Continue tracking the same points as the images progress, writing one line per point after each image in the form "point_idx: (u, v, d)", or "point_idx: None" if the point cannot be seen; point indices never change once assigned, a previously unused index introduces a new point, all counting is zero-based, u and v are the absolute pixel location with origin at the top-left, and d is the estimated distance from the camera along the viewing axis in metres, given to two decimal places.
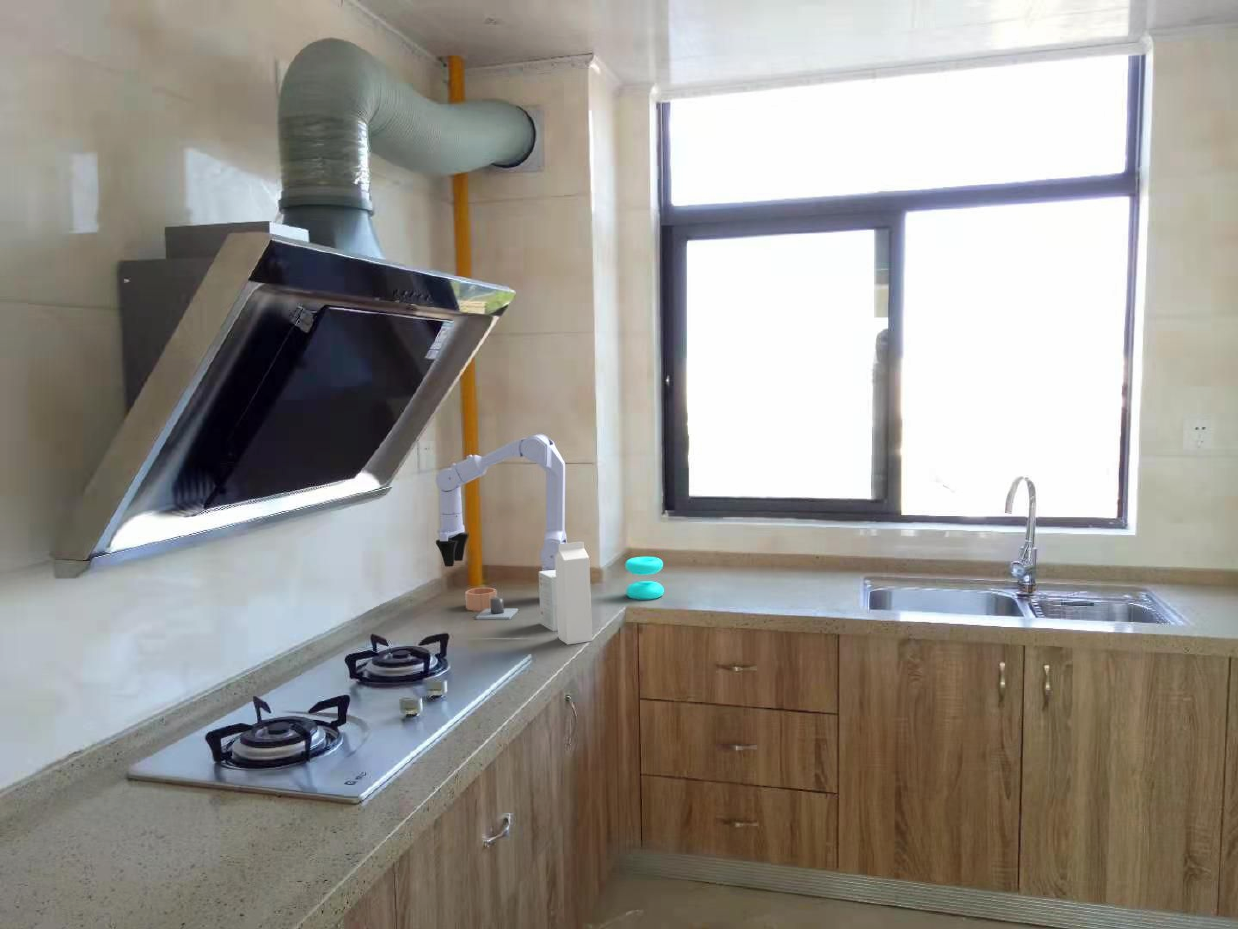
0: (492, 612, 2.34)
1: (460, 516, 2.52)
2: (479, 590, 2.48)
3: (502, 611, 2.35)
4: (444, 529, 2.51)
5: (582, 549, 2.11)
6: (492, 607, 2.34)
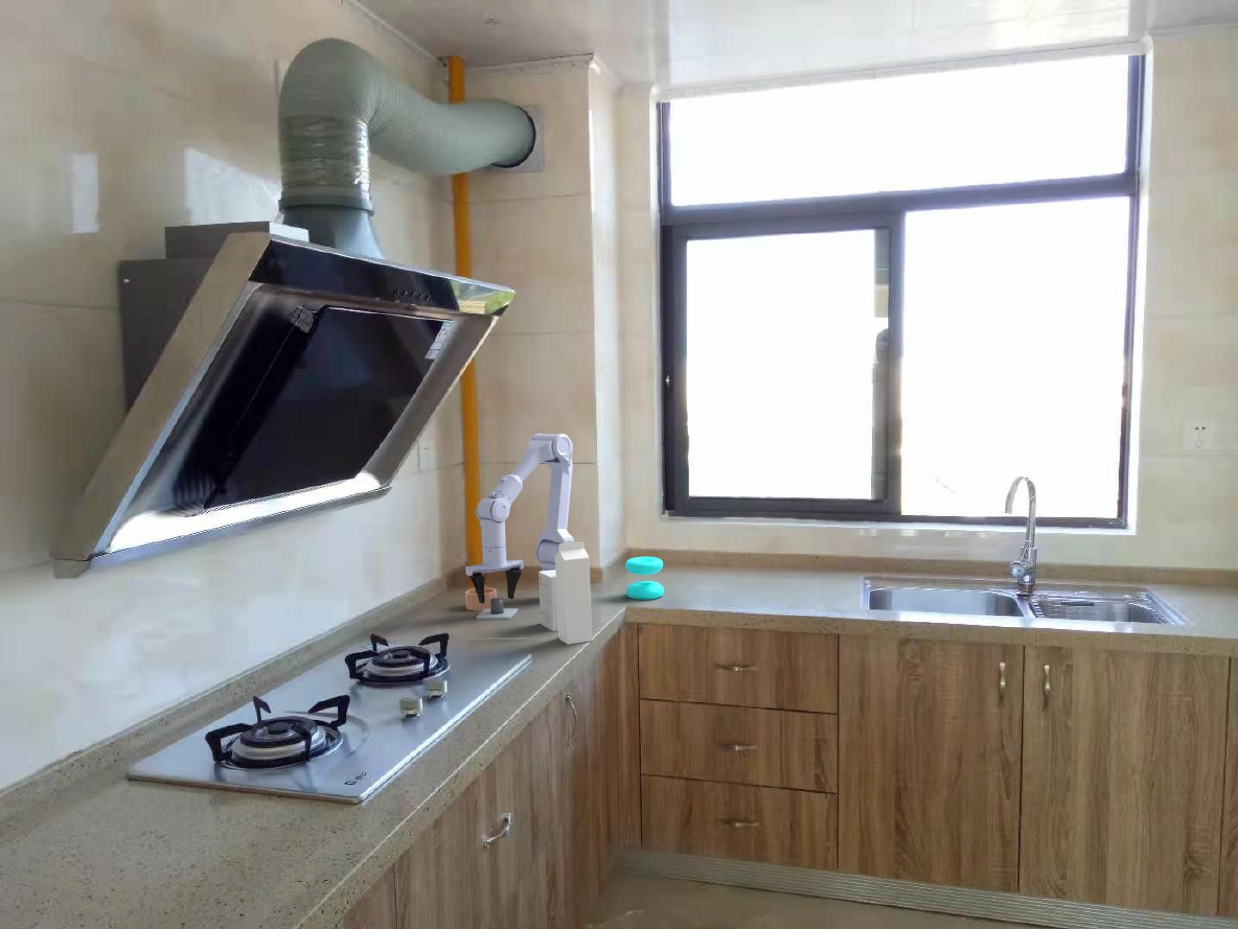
0: (492, 612, 2.34)
1: (495, 551, 2.31)
2: None
3: (502, 611, 2.35)
4: (483, 562, 2.34)
5: (582, 549, 2.11)
6: (492, 607, 2.34)
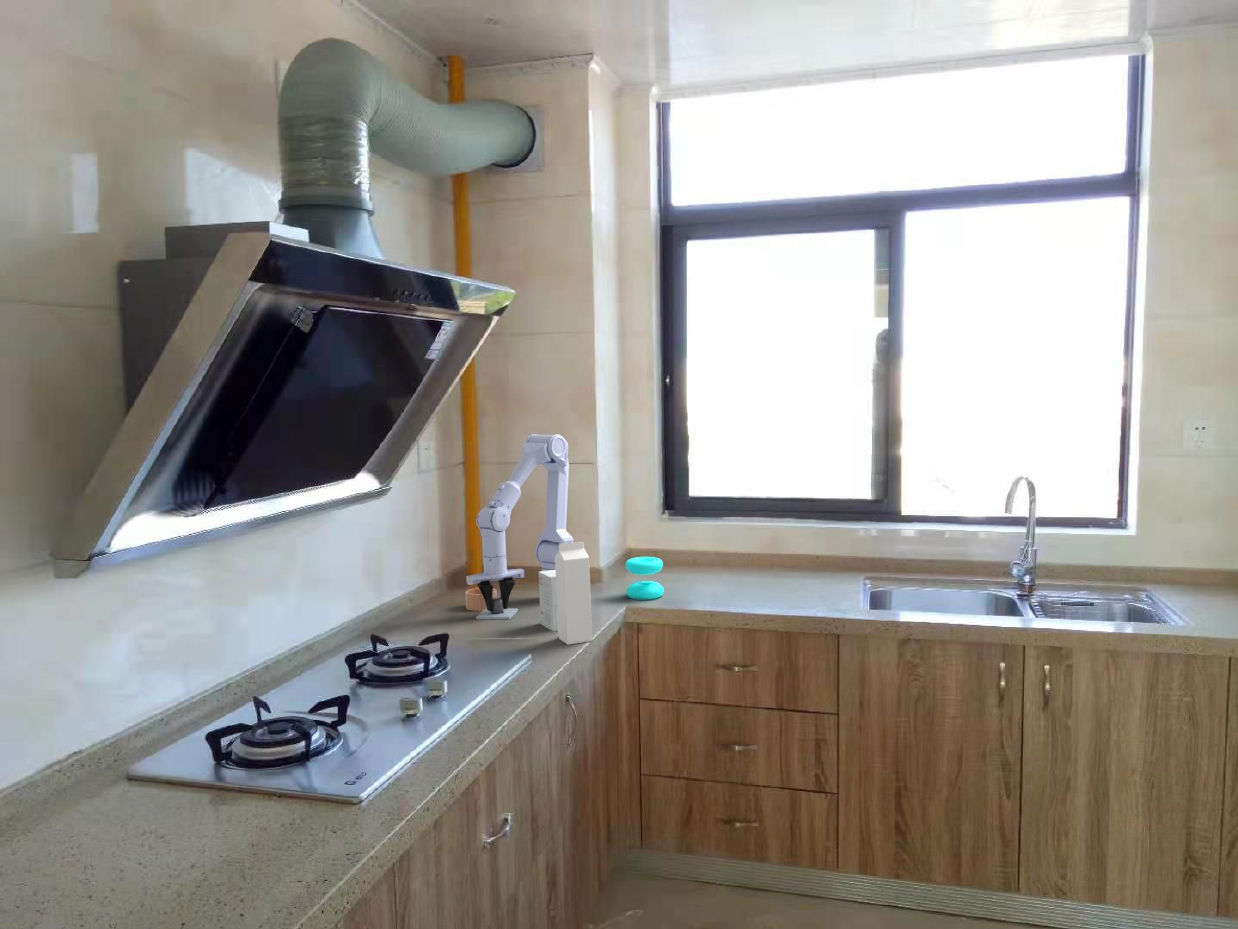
0: (492, 612, 2.34)
1: (496, 560, 2.31)
2: (479, 590, 2.48)
3: (502, 611, 2.35)
4: None
5: (582, 549, 2.11)
6: None
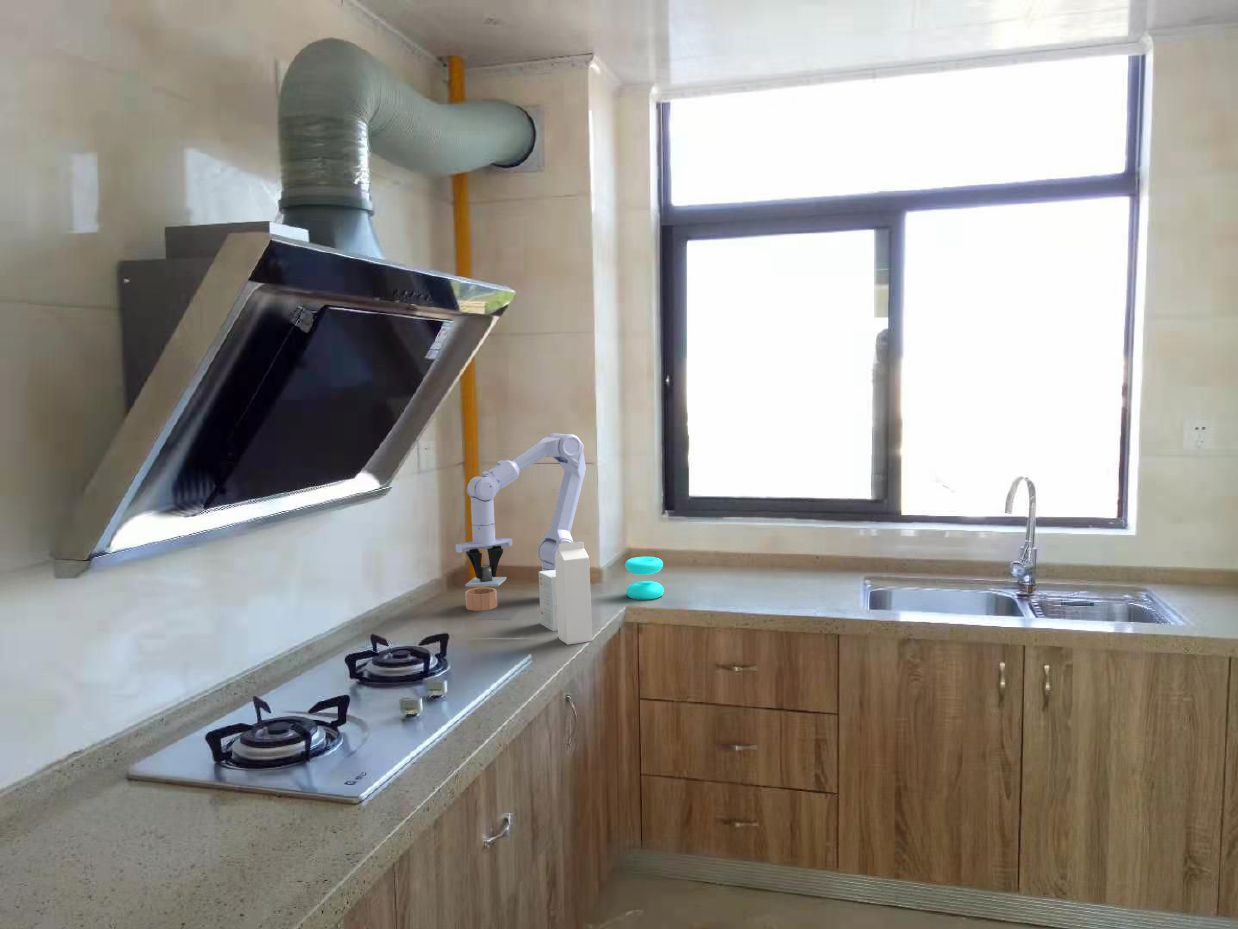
0: (481, 580, 2.39)
1: (484, 529, 2.37)
2: (479, 590, 2.48)
3: (491, 579, 2.40)
4: None
5: (582, 549, 2.11)
6: None
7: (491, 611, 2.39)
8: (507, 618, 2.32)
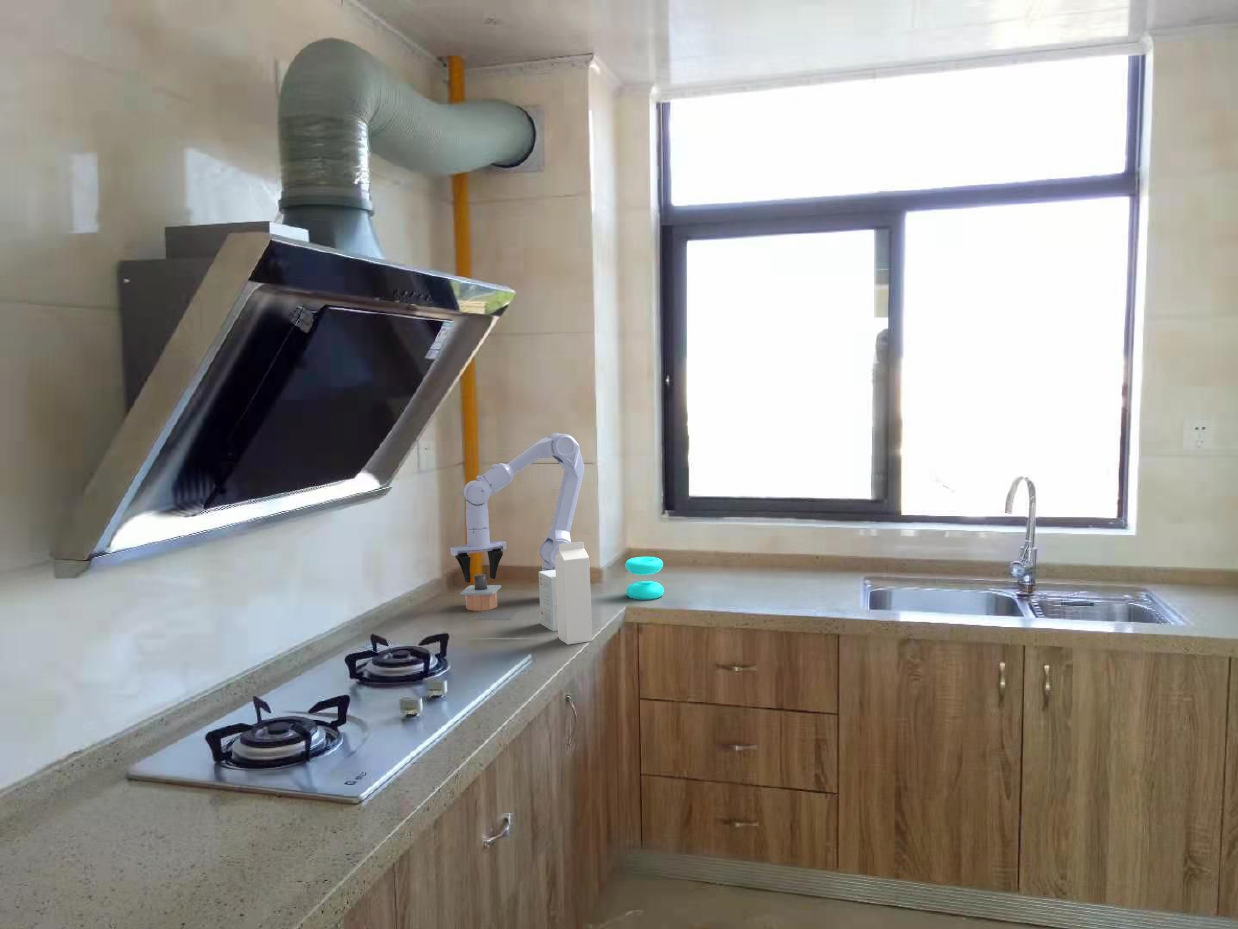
0: (476, 588, 2.43)
1: (479, 532, 2.40)
2: None
3: (485, 587, 2.44)
4: None
5: (582, 549, 2.11)
6: (476, 583, 2.43)
7: (491, 611, 2.39)
8: (507, 618, 2.32)
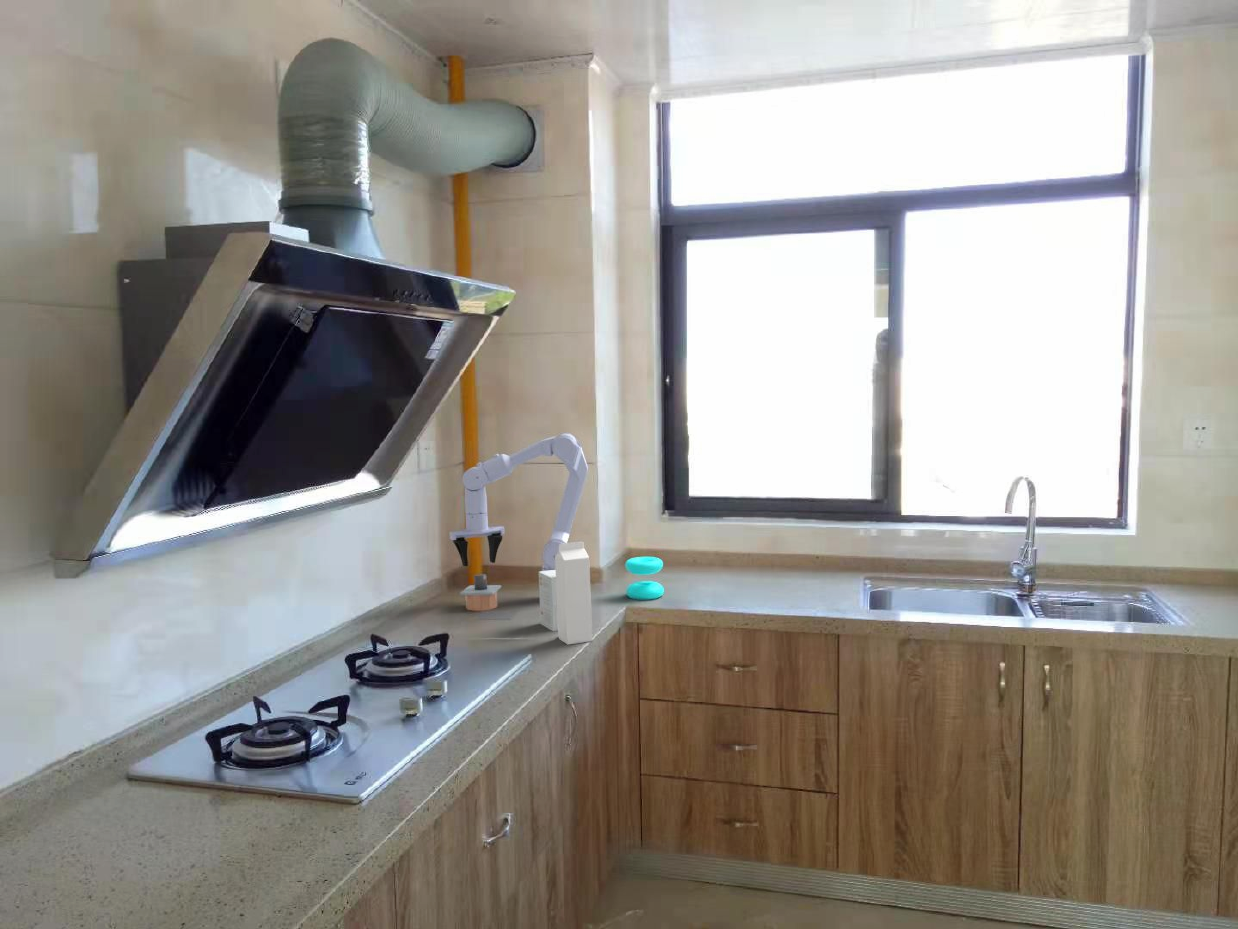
0: (476, 588, 2.43)
1: (477, 517, 2.46)
2: None
3: (485, 587, 2.44)
4: (466, 528, 2.49)
5: (582, 549, 2.11)
6: (476, 583, 2.43)
7: (491, 611, 2.39)
8: (507, 618, 2.32)
